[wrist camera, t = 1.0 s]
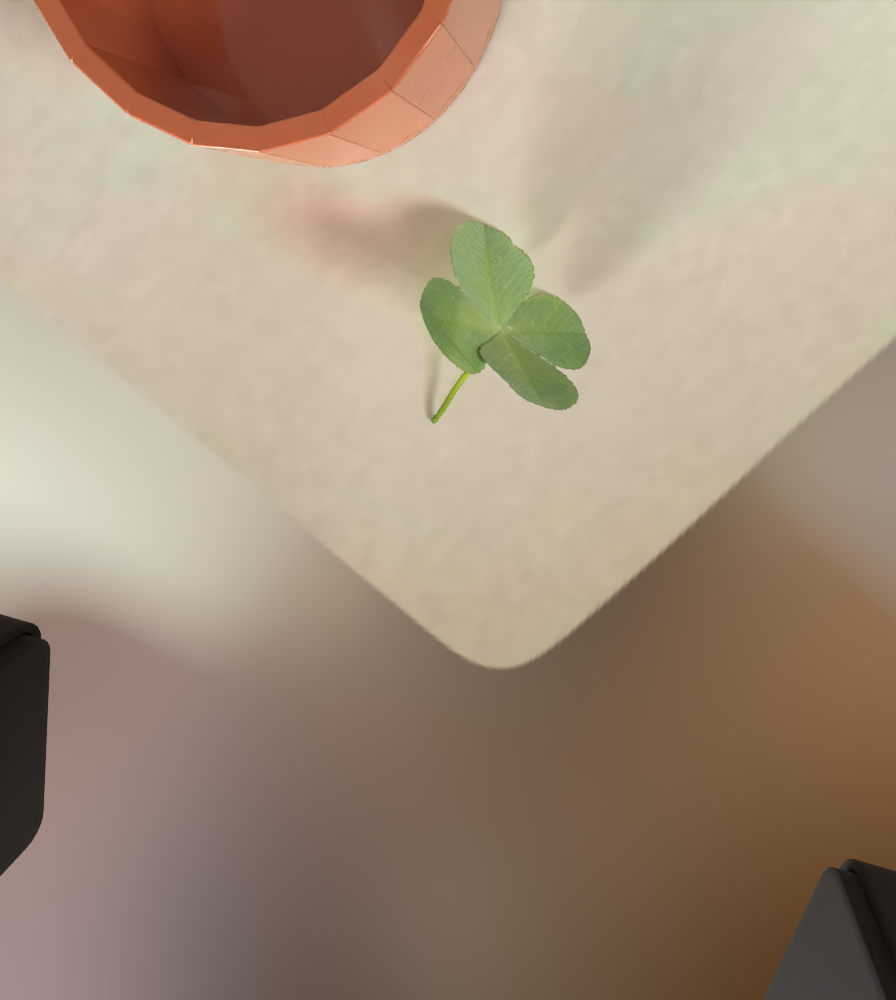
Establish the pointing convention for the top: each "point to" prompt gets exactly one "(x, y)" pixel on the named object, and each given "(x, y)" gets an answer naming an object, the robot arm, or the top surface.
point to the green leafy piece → (503, 320)
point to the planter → (279, 69)
